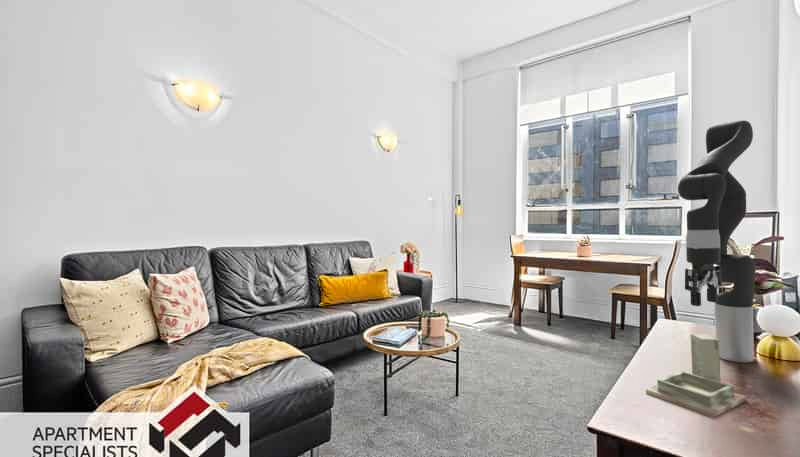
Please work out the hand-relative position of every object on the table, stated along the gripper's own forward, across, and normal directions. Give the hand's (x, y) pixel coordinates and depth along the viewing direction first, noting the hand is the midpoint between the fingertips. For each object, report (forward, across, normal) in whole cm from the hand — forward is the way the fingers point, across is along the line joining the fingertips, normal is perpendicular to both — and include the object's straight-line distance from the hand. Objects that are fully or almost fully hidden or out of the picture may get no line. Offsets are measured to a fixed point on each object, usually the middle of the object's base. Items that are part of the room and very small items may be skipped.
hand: (704, 303), depth 109 cm
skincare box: (+22, 0, 0) cm, 22 cm away
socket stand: (+21, +14, +4) cm, 26 cm away
